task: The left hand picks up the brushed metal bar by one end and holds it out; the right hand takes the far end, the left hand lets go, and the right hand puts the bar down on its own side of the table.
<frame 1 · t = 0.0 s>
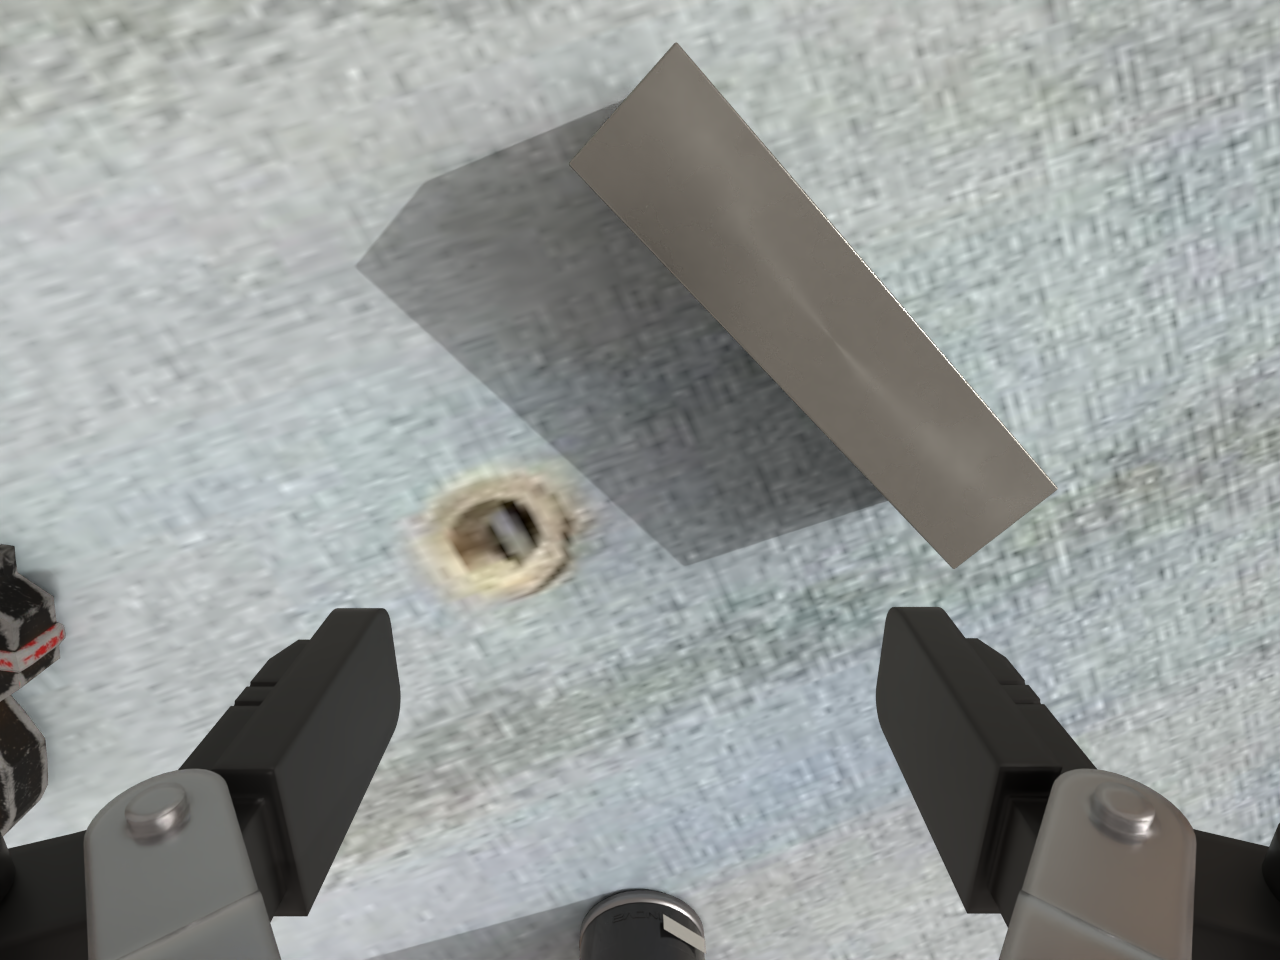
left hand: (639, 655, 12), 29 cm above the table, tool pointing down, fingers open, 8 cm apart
bar: (791, 311, 38), on the table
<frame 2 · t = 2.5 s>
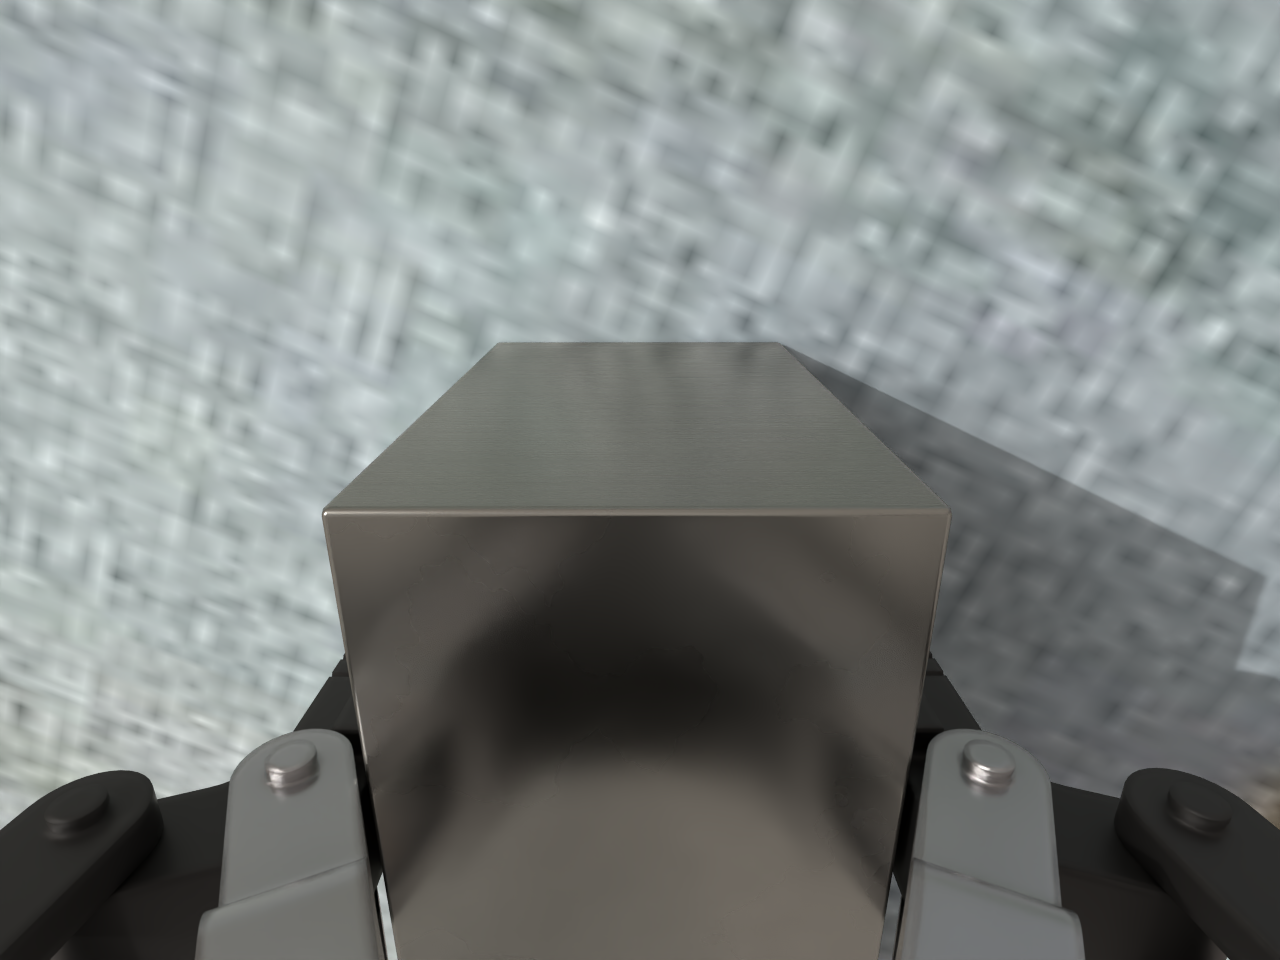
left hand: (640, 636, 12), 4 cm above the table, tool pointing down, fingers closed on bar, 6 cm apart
bar: (639, 811, 19), on the table, touching left hand
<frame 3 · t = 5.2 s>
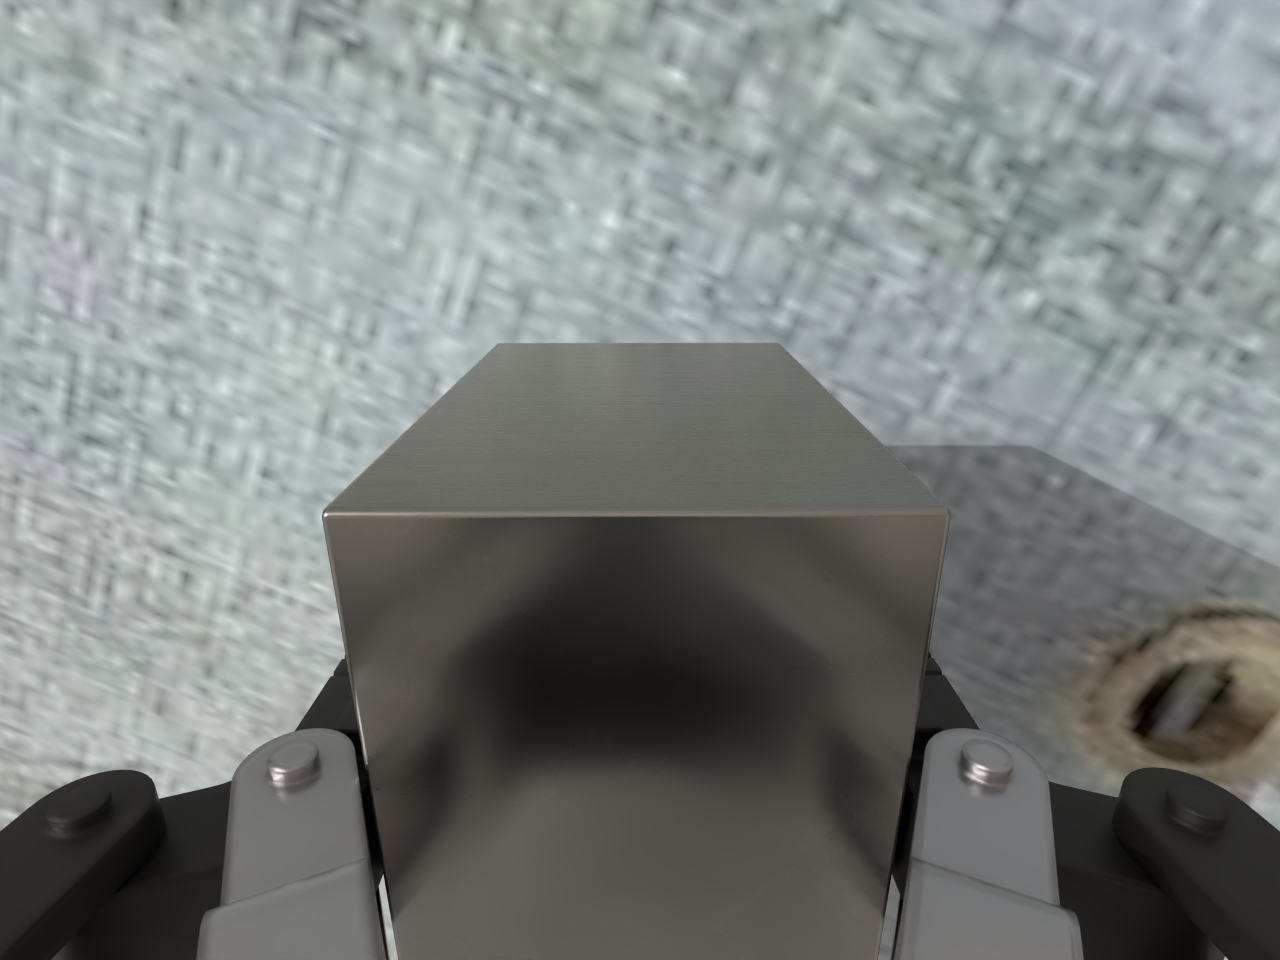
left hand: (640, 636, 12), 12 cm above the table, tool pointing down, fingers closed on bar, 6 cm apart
bar: (639, 811, 19), point 7 cm above the table, touching left hand
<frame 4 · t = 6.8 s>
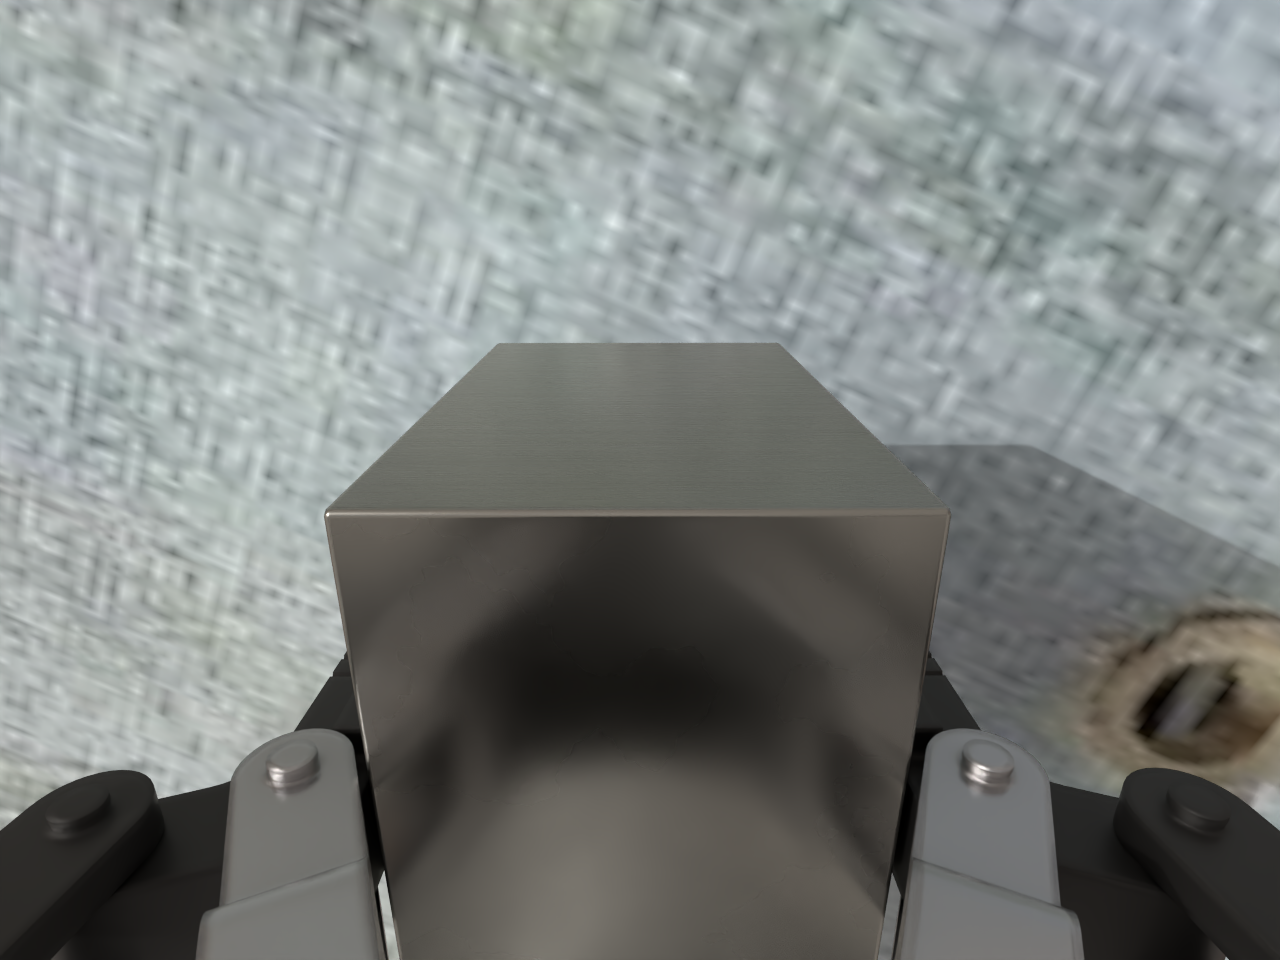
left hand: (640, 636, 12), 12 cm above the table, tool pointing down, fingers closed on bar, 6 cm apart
bar: (639, 810, 19), point 7 cm above the table, touching left hand, right hand
when the left hand's fingers open (12 cm above the table, at t = 7.9 s): bar stays where it is, held by the right hand.
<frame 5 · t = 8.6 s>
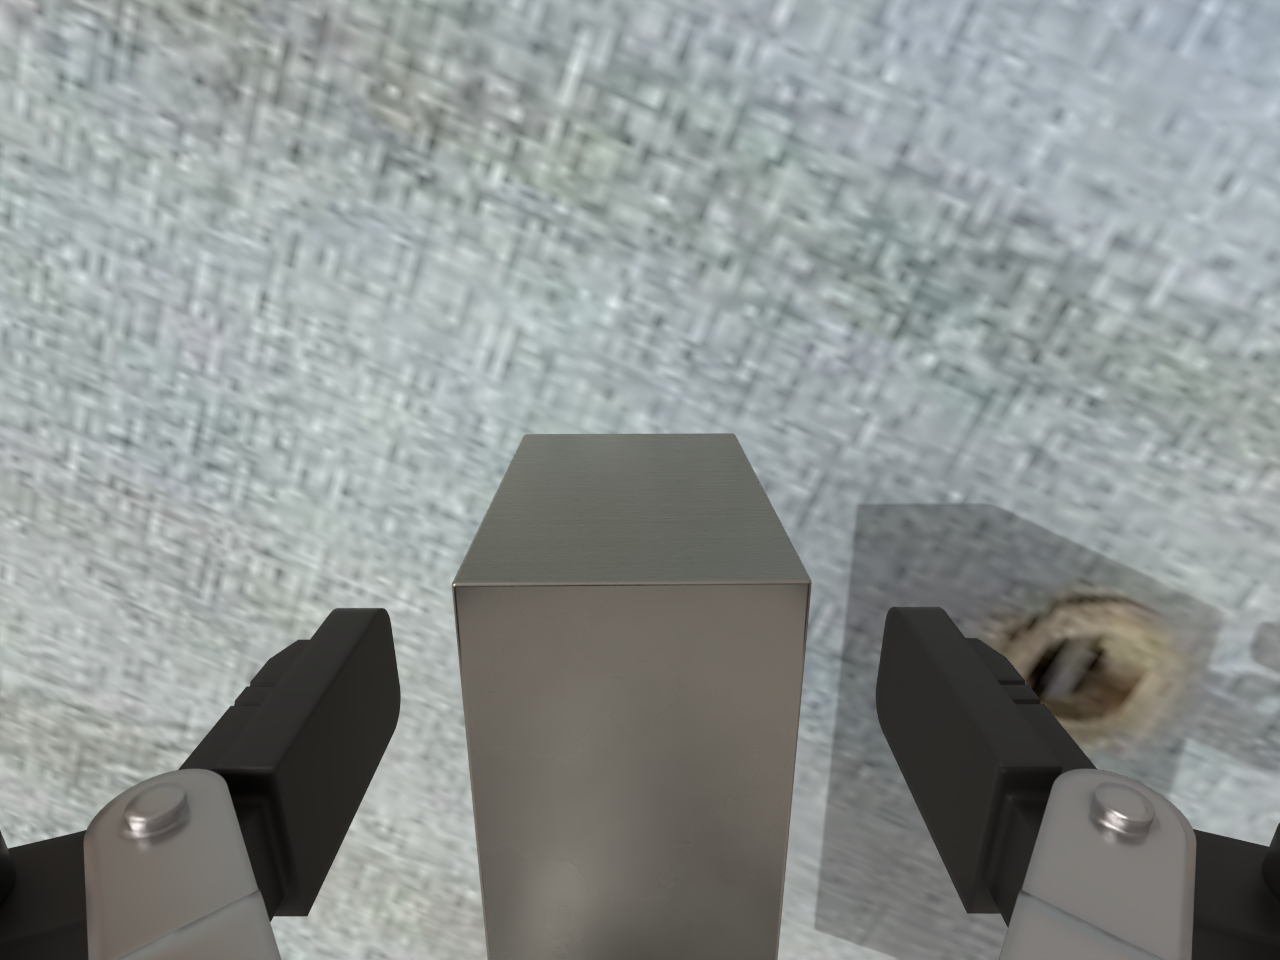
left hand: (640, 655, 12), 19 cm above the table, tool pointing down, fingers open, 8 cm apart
bar: (630, 794, 24), point 9 cm above the table, touching right hand
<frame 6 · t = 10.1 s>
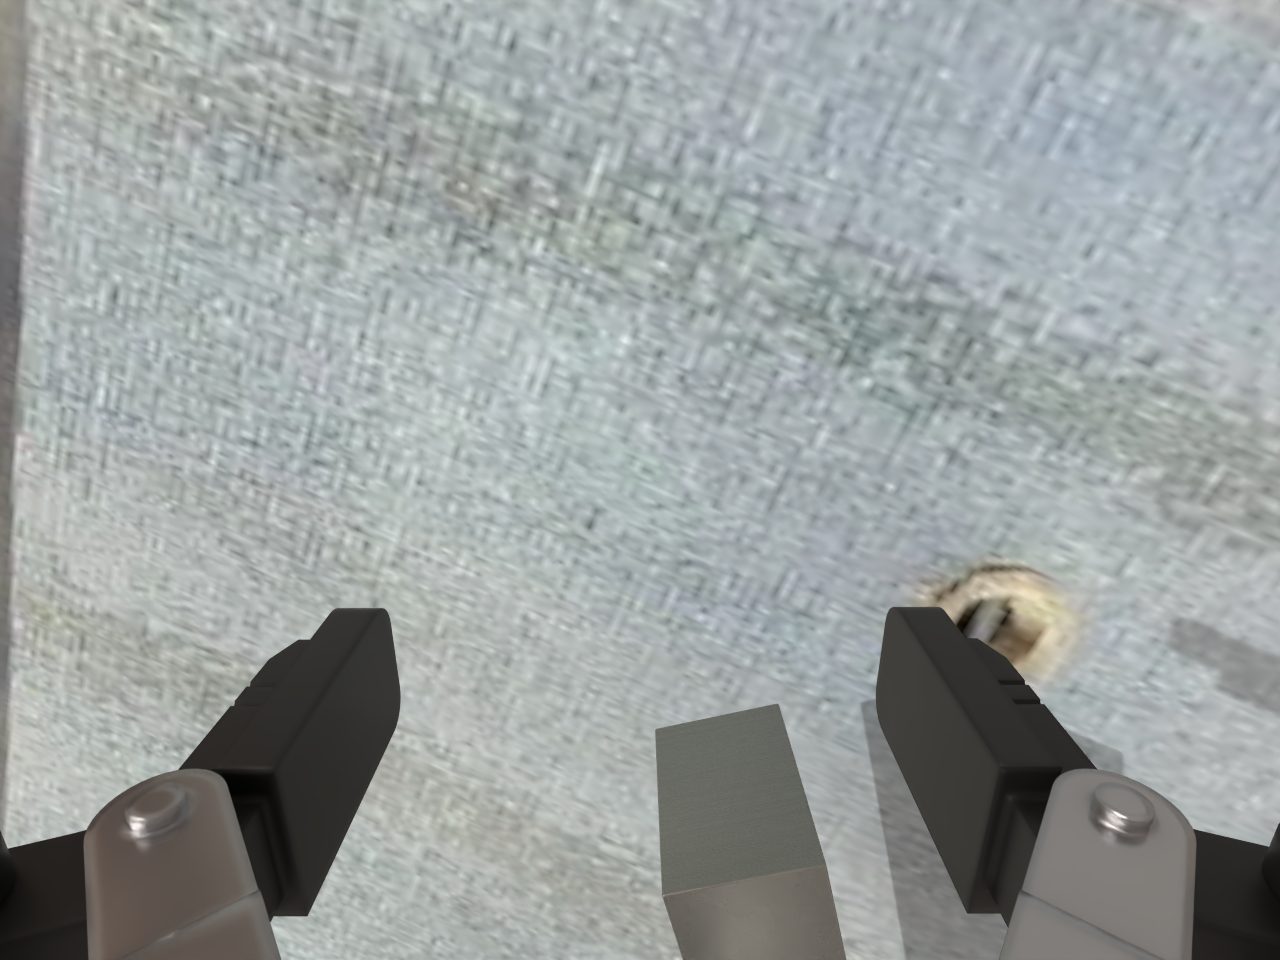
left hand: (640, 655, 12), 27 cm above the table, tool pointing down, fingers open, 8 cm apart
bar: (765, 906, 38), point 10 cm above the table, touching right hand
when the right hand's fingers open (5 cm above the table, at t = 13.7 s): bar stays where it is, on the table.
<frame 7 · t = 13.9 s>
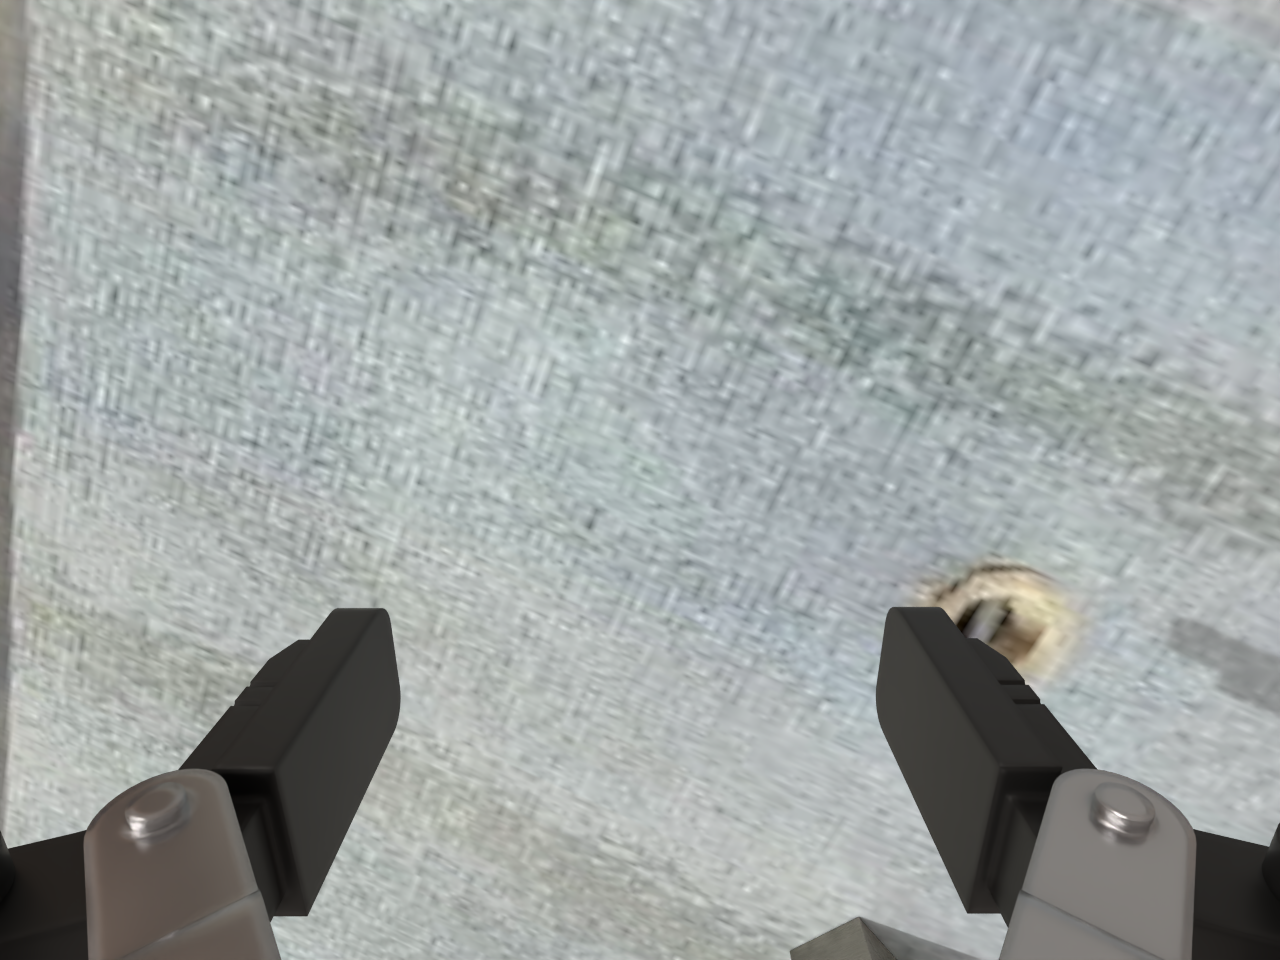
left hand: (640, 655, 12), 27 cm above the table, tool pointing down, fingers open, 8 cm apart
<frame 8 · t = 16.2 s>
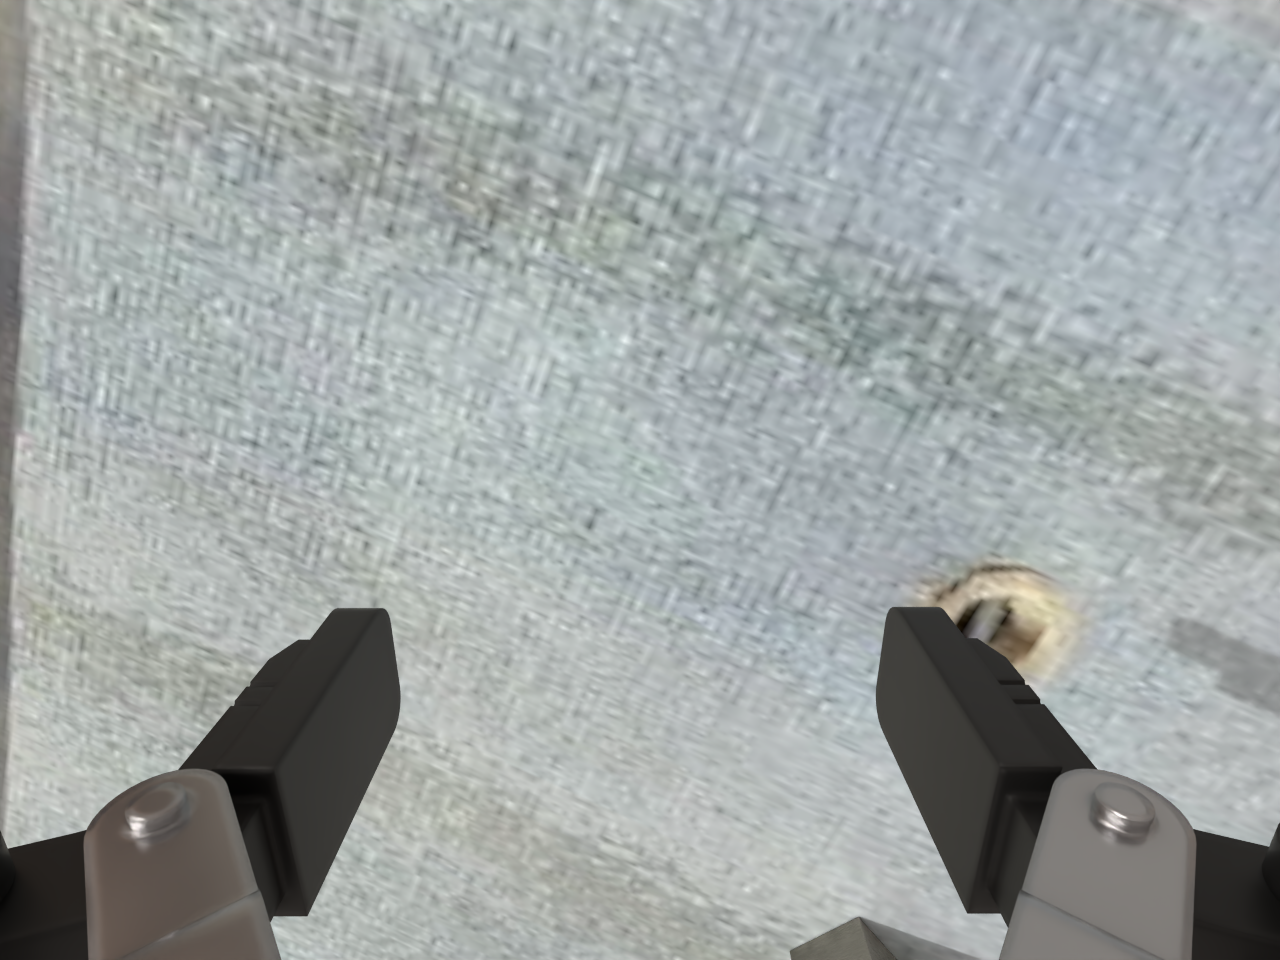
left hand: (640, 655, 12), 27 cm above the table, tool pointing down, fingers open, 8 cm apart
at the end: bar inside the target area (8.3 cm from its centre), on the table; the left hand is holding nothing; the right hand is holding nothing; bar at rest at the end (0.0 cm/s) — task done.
